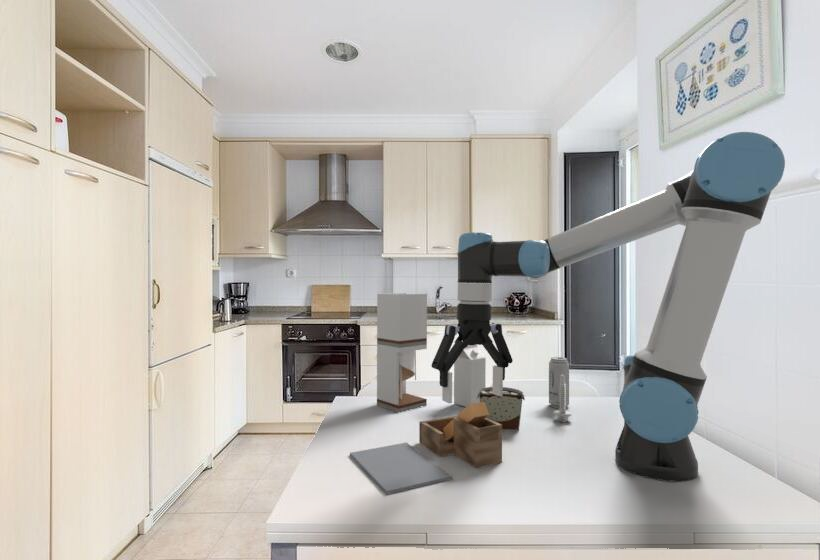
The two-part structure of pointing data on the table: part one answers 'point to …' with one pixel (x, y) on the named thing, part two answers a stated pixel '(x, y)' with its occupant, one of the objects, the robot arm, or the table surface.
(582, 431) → the table surface
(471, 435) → the pocket block
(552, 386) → the energy drink can
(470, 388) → the milk carton
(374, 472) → the mat
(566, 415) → the screw
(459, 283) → the robot arm
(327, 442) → the table surface
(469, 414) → the tan wooden beam
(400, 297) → the white cabinet tower
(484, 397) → the food container
